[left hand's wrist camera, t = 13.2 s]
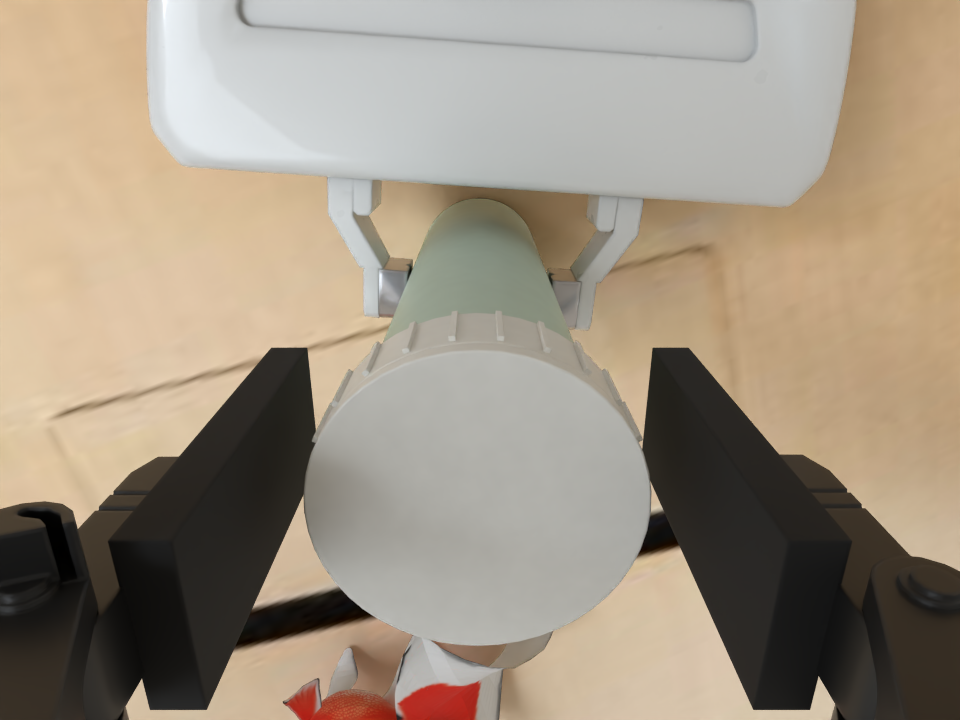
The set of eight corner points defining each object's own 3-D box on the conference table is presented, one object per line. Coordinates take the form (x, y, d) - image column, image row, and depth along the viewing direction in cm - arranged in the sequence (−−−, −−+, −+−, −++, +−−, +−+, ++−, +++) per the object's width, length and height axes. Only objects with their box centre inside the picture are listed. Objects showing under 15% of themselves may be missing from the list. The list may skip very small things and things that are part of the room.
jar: (459, 327, 30) (431, 649, 12) (402, 234, 28) (274, 451, 11) (554, 274, 29) (669, 540, 11) (499, 176, 27) (535, 307, 10)
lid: (428, 618, 14) (421, 694, 12) (262, 405, 12) (225, 457, 10) (680, 501, 13) (712, 564, 11) (539, 247, 11) (551, 274, 9)
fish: (201, 638, 30) (248, 877, 23) (498, 503, 35) (609, 665, 28) (261, 732, 37) (311, 937, 30) (502, 607, 42) (593, 758, 35)
